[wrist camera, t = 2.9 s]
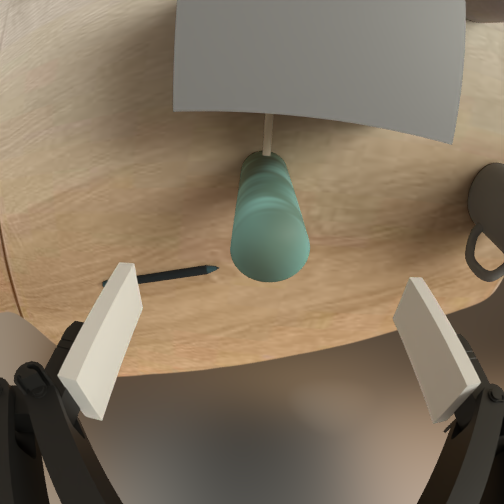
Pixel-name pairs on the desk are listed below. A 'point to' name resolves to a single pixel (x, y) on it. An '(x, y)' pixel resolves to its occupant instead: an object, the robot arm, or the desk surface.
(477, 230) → the mug
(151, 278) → the pen
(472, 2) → the pillar candle
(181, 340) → the desk surface
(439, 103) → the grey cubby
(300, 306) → the desk surface
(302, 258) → the tethered cylinder
